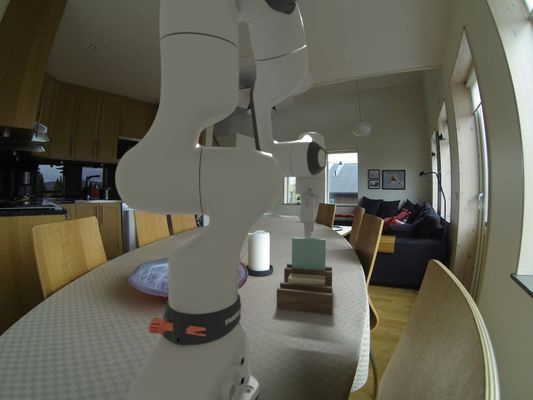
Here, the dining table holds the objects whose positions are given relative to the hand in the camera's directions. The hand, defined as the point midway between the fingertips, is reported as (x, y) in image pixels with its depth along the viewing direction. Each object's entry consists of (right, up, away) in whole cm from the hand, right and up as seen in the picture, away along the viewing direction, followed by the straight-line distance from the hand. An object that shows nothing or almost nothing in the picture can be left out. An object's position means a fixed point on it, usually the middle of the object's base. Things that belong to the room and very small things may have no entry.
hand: (309, 234), depth 78 cm
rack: (-2, -19, -5) cm, 20 cm away
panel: (0, -17, 0) cm, 17 cm away
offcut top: (-2, -14, -5) cm, 15 cm away
